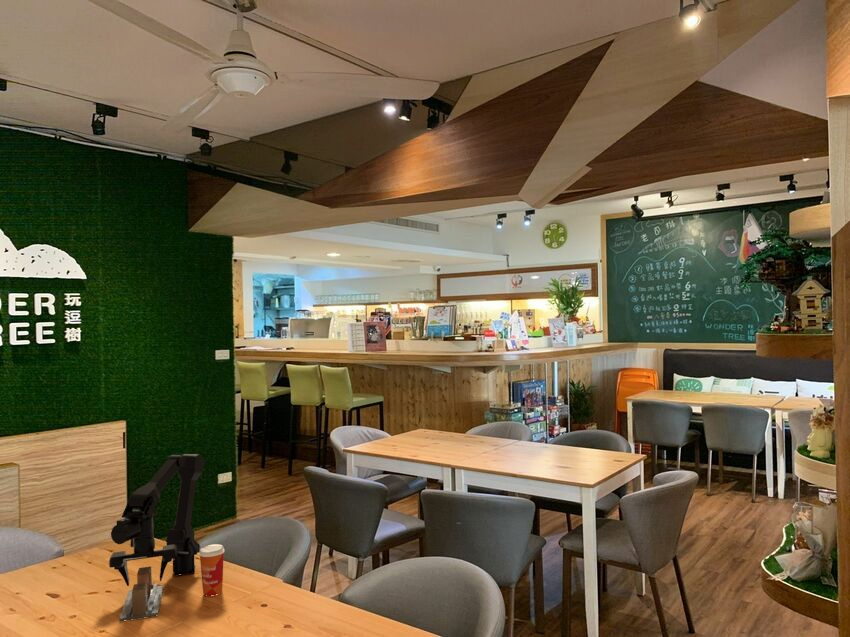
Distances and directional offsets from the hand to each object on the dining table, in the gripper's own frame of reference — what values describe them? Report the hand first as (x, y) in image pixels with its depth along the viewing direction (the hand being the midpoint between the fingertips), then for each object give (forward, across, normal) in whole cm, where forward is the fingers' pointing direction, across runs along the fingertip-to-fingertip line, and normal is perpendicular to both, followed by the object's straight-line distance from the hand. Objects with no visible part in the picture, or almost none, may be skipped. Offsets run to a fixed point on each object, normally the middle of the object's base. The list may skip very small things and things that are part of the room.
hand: (144, 583), depth 191 cm
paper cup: (+4, -20, +6) cm, 21 cm away
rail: (+4, 0, +6) cm, 7 cm away
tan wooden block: (+3, 0, 0) cm, 3 cm away
